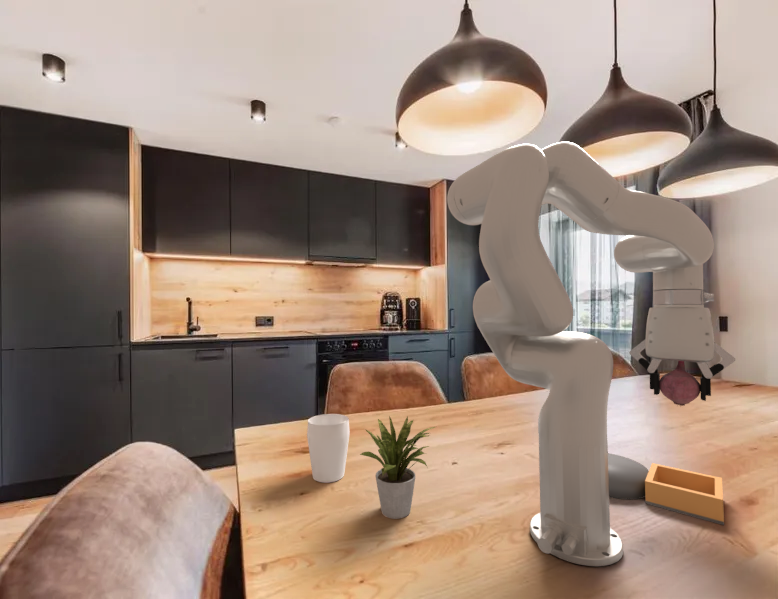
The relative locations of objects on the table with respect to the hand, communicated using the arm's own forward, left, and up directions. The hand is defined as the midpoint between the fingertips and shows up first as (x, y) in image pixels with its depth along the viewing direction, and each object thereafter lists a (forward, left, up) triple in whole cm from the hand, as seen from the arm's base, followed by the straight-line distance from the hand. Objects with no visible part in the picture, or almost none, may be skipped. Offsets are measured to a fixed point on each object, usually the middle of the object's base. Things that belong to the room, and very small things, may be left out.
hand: (679, 395), depth 69 cm
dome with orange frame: (-1, +7, -19) cm, 20 cm away
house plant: (-38, +37, -19) cm, 56 cm away
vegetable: (0, 0, -2) cm, 2 cm away
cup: (-36, +58, -19) cm, 71 cm away
